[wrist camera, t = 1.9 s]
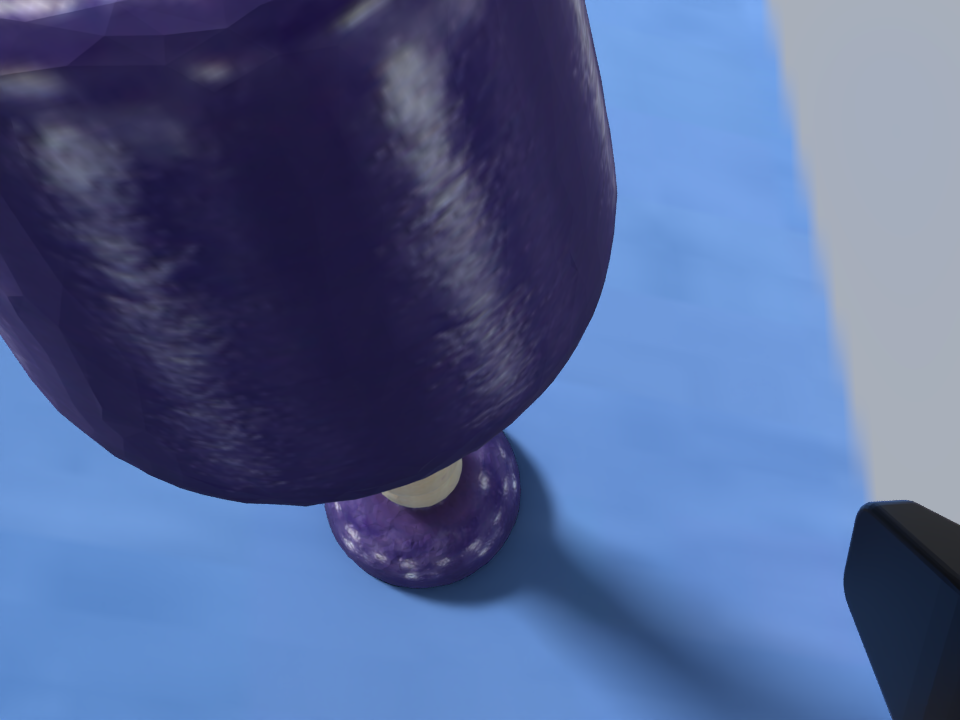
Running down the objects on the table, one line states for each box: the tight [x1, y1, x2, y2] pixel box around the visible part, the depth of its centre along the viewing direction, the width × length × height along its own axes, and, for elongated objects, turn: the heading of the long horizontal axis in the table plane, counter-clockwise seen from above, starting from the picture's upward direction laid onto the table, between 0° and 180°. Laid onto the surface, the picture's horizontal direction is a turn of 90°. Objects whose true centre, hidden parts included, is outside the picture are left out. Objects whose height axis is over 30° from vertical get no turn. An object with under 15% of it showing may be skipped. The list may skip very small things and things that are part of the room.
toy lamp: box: [0, 0, 617, 588], centre depth 11 cm, size 5×5×17 cm
